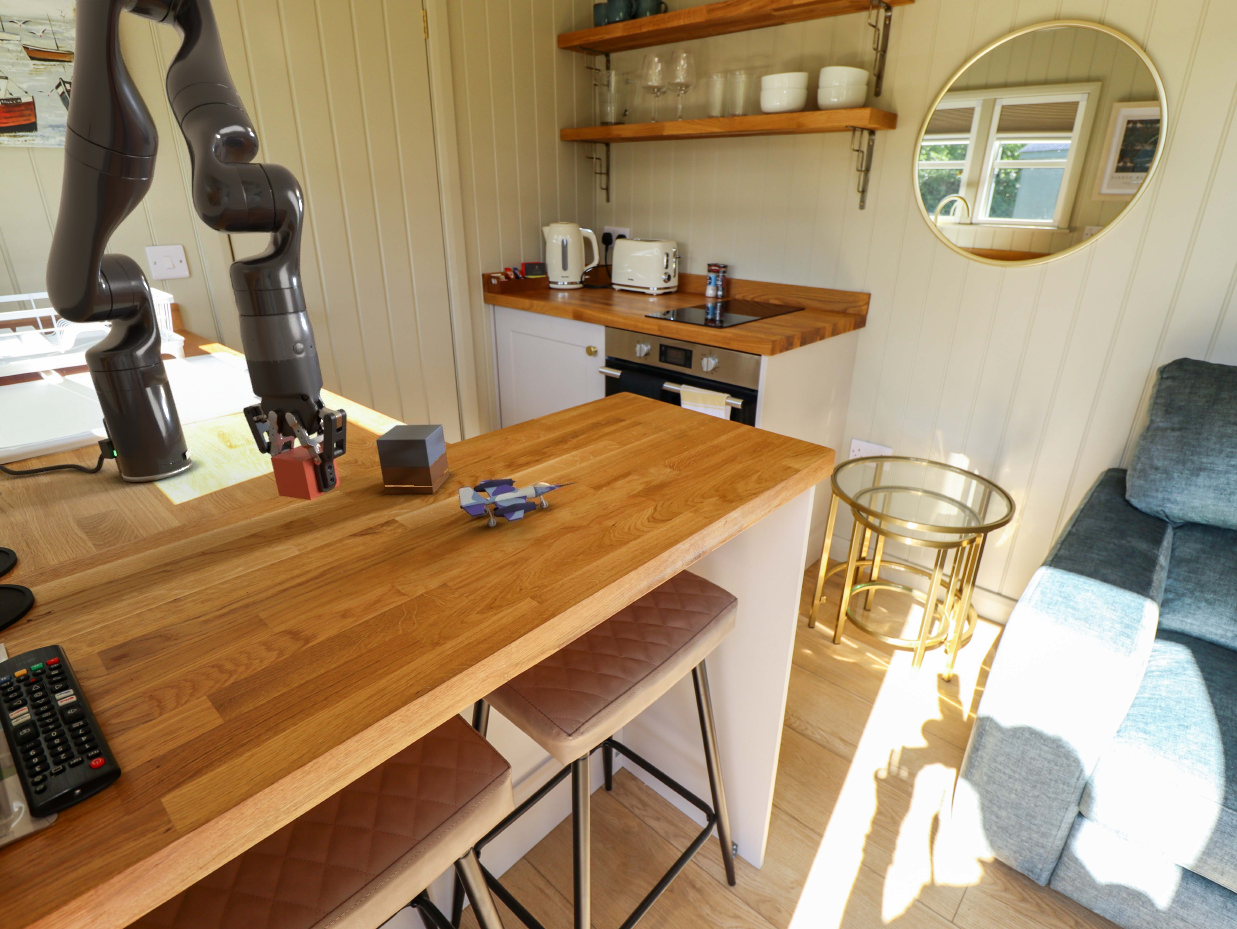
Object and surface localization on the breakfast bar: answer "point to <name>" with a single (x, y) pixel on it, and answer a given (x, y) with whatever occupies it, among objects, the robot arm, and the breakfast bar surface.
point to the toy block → (297, 474)
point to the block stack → (413, 458)
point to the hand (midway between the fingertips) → (309, 487)
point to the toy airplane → (503, 499)
